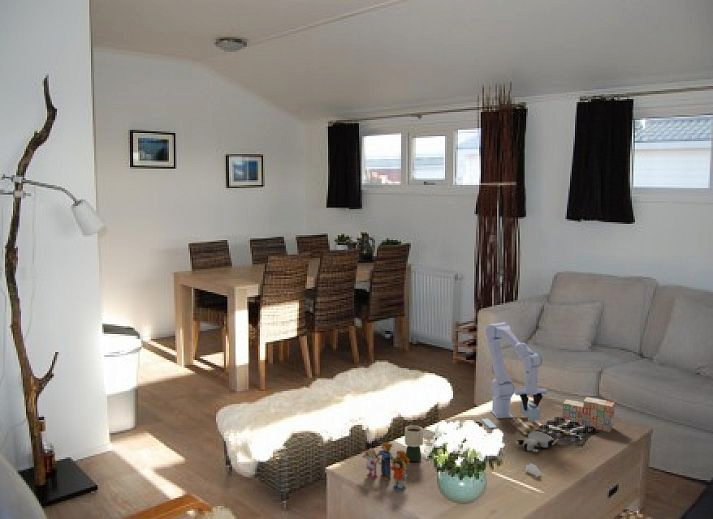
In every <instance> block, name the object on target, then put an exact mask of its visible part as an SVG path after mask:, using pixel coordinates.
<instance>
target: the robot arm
mask: <svg viewBox="0 0 713 519" xmlns="http://www.w3.org/2000/svg"><path fill="white" fill-rule="evenodd" d="M484 332H485V336H486V340H487V345H488V350H489V354H490V358H491V364H492V368H493V373H494V379H493V380H492V381H491V393H492V395H493V397H492V408H491V409H490V412H491V413H492V415H494V416H495V417H496V418H497V419H506V418H507V419H508V418H514V416H513V415H512V414H511V401H512V398H513V396H514V395H515V396H516V397H517V396H519V397H520V399H521V400H520V401H522V403H523V407H524V410H525V411H527V406H528V401H529V400H530V399H529V396H528V395H532V396H533V402H532V403H533V404H535V405H536V406H537V407H538V408H539V405H540V403H541V400H542V399H543V395H547V394H548V390H547V389H546V388H539V375H540V374H539V372H540V366H541V365H542V364H543V359H542V356H541V355H540V354H539V353H536V352H534V351H533V350H532V349H530V347H529V346H528V345H527V343H525V342H520V341H519V339H518V338H517V336H516V335H515V334H514V333H513V331H512V329H511V326H510V325H509V324H508V323H507V322H504V321H502V322H499V323H490V324H489V323H488V324H487V325H486V327H485V330H484ZM503 339H505V340H506V341H507V342H508V343H509V344H510V345H511V346H513V347H514V352H515V353H516V354H517V355H518V356H519V357H520V358H521V360H522V363H523V364H522V365H523V366H524V371H525V372H524V373H525V374H524V375H525V376H524V388H520V389H516V388H515V385H514V384H513V380H512V379H511V377H509V376H508V375H507V371H506V366H505V362H504V358H503V353H502V348H501V341H502V340H503Z"/></svg>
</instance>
